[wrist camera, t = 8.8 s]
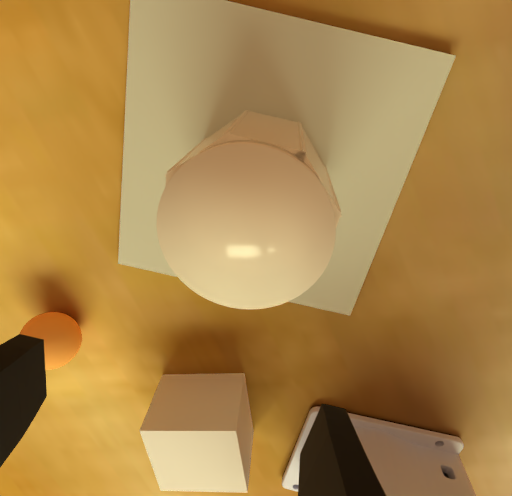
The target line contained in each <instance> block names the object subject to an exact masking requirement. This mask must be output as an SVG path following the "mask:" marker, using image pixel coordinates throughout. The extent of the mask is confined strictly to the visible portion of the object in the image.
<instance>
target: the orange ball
mask: <svg viewBox="0 0 512 496" xmlns="http://www.w3.org/2000/svg"><path fill="white" fill-rule="evenodd" d="M20 334H22V335H26V336H31V337H35V338H39V339H44V353H45V370H51V369H56V368H59V367H61V366H63V365H65V364H67V363H68V362H69V361H71V360H72V359H73V358H74V356H75V355H76V354H77V352H78V350H79V348H80V346H81V341H82V334H81V330H80V327H79V325H78V324H77V322H76V321H75V320H74V319H73V318H71V317H70V316H68V315H66V314H64V313H59V312H47V313H43V314H40V315H38V316H36V317H34V318H32V319H31V320H30V321H29V322H27V323H26V325H25V326H24V327H23V329H22V330H21V332H20Z"/></svg>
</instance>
